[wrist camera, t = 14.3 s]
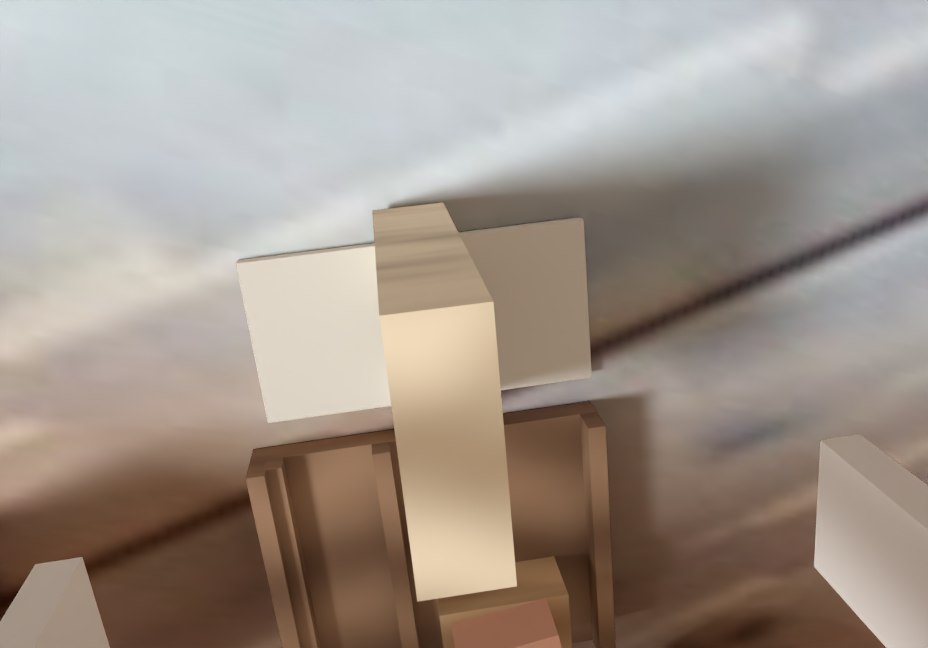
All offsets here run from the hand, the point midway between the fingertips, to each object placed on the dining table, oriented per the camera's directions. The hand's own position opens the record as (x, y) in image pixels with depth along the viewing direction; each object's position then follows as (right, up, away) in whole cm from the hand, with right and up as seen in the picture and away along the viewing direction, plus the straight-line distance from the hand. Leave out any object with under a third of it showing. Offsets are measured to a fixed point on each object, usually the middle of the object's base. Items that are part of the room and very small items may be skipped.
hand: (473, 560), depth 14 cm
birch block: (-2, +5, +21) cm, 22 cm away
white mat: (-2, +4, +22) cm, 23 cm away
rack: (-1, -7, +26) cm, 27 cm away
